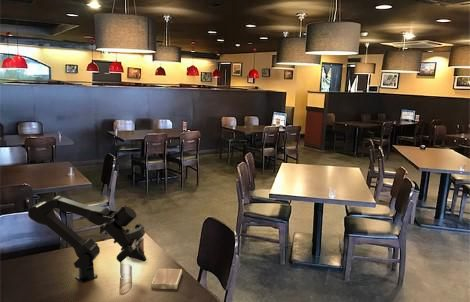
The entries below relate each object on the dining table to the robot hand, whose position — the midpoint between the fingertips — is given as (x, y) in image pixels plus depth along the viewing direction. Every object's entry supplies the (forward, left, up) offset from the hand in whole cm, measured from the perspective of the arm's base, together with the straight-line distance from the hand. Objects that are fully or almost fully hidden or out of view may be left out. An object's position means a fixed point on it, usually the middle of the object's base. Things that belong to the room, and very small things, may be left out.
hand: (145, 260), depth 149 cm
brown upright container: (-23, +12, -9) cm, 28 cm away
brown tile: (+3, +2, -8) cm, 9 cm away
